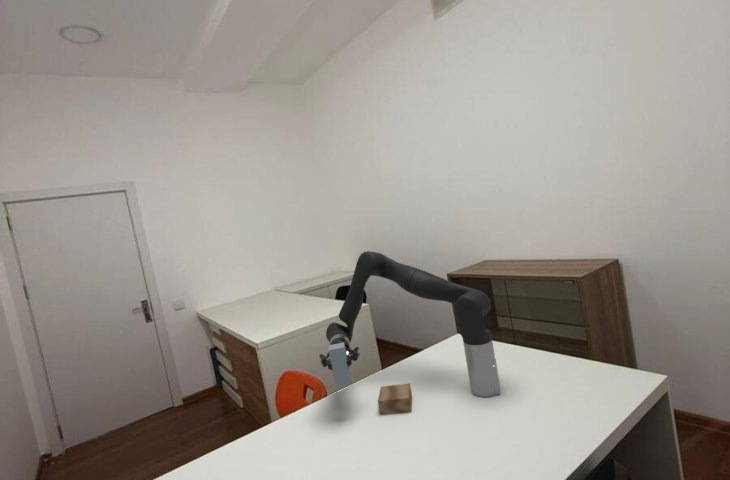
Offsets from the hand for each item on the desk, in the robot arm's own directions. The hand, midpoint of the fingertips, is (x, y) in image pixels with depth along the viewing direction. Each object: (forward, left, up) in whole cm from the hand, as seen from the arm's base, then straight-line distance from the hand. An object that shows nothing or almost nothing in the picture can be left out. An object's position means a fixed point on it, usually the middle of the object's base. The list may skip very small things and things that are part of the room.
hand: (339, 365), depth 123 cm
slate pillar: (+1, -2, -7) cm, 7 cm away
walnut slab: (-13, -10, -19) cm, 25 cm away
